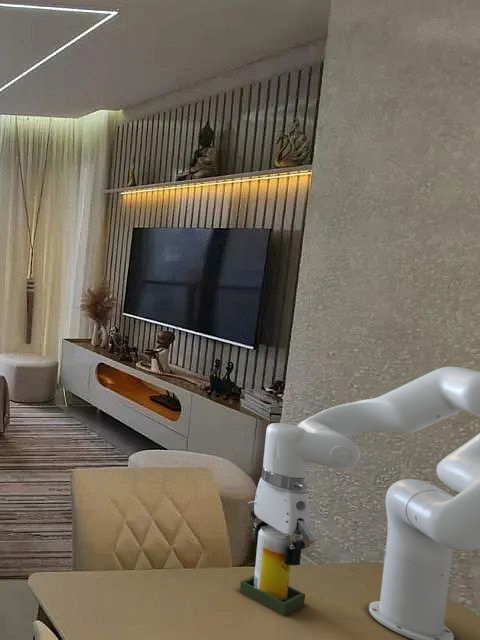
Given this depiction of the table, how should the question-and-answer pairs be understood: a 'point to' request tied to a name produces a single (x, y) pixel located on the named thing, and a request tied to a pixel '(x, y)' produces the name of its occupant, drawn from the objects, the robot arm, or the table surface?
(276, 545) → the beer can
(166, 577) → the table surface
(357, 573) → the table surface
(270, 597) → the can tray
